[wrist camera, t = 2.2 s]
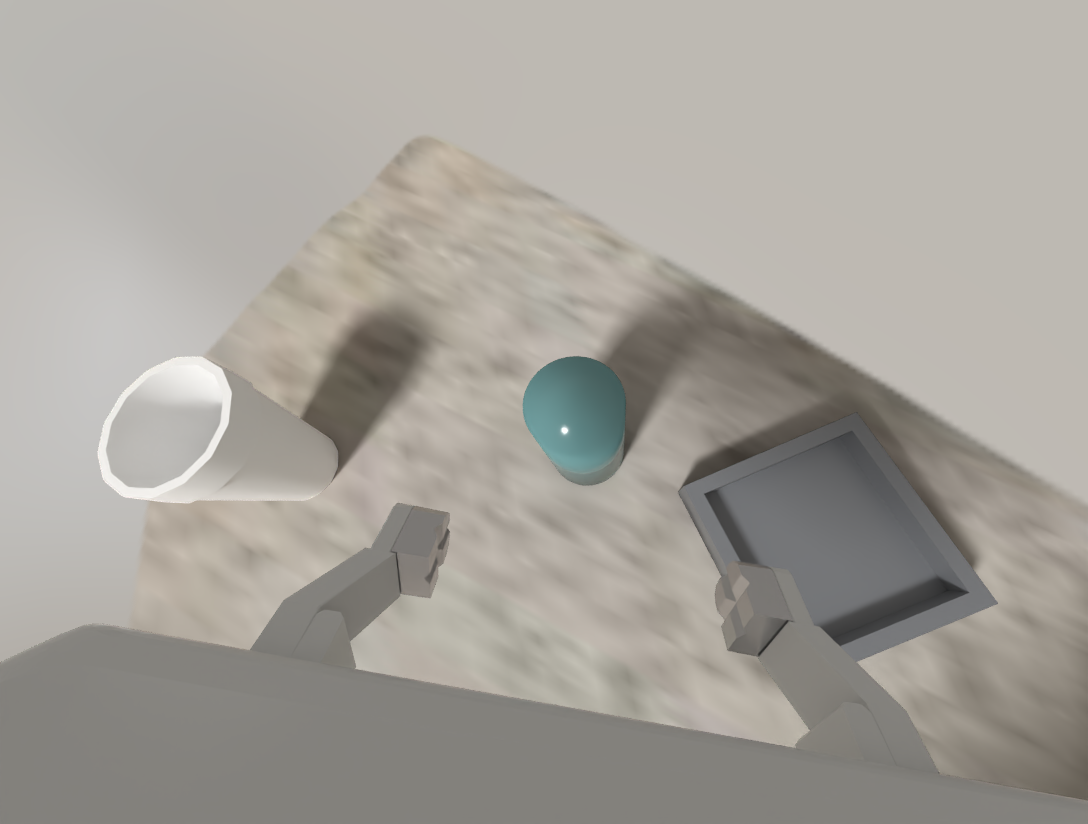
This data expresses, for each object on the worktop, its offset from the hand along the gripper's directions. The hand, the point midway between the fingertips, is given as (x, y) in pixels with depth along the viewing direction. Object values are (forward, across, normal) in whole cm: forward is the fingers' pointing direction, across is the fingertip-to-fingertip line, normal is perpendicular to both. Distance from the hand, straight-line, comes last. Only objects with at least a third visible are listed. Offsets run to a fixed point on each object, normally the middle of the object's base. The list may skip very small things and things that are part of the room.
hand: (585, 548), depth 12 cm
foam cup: (+19, +23, +19) cm, 35 cm away
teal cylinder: (+19, -2, +12) cm, 23 cm away
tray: (+14, -18, +12) cm, 25 cm away
